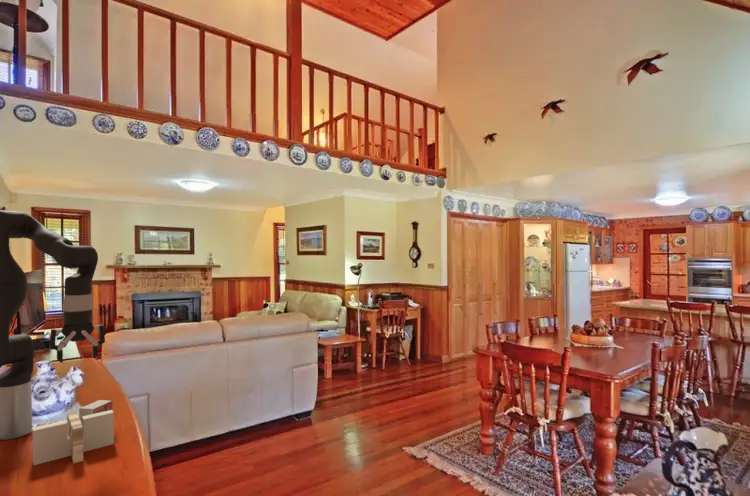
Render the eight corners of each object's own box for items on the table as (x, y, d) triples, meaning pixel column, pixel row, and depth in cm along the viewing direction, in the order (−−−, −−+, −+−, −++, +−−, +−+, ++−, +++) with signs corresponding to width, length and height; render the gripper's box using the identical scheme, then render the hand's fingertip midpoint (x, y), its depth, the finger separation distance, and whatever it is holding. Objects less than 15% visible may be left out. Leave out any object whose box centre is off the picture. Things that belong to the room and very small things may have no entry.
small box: (93, 441, 137) (92, 409, 137) (78, 440, 138) (78, 408, 138) (113, 431, 144) (112, 400, 144) (99, 430, 146) (98, 399, 146)
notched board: (33, 465, 122) (32, 430, 122) (33, 461, 124) (32, 427, 124) (114, 443, 135) (113, 412, 135) (112, 440, 137) (111, 409, 137)
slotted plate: (67, 444, 135) (67, 413, 135) (77, 442, 136) (76, 411, 136) (73, 463, 123) (72, 429, 123) (83, 460, 124) (82, 426, 124)
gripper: (50, 312, 127) (50, 366, 127) (106, 308, 136) (106, 358, 136) (49, 309, 133) (49, 360, 133) (102, 305, 142) (102, 353, 142)
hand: (77, 359), depth 134 cm, fingers open, 8 cm apart
